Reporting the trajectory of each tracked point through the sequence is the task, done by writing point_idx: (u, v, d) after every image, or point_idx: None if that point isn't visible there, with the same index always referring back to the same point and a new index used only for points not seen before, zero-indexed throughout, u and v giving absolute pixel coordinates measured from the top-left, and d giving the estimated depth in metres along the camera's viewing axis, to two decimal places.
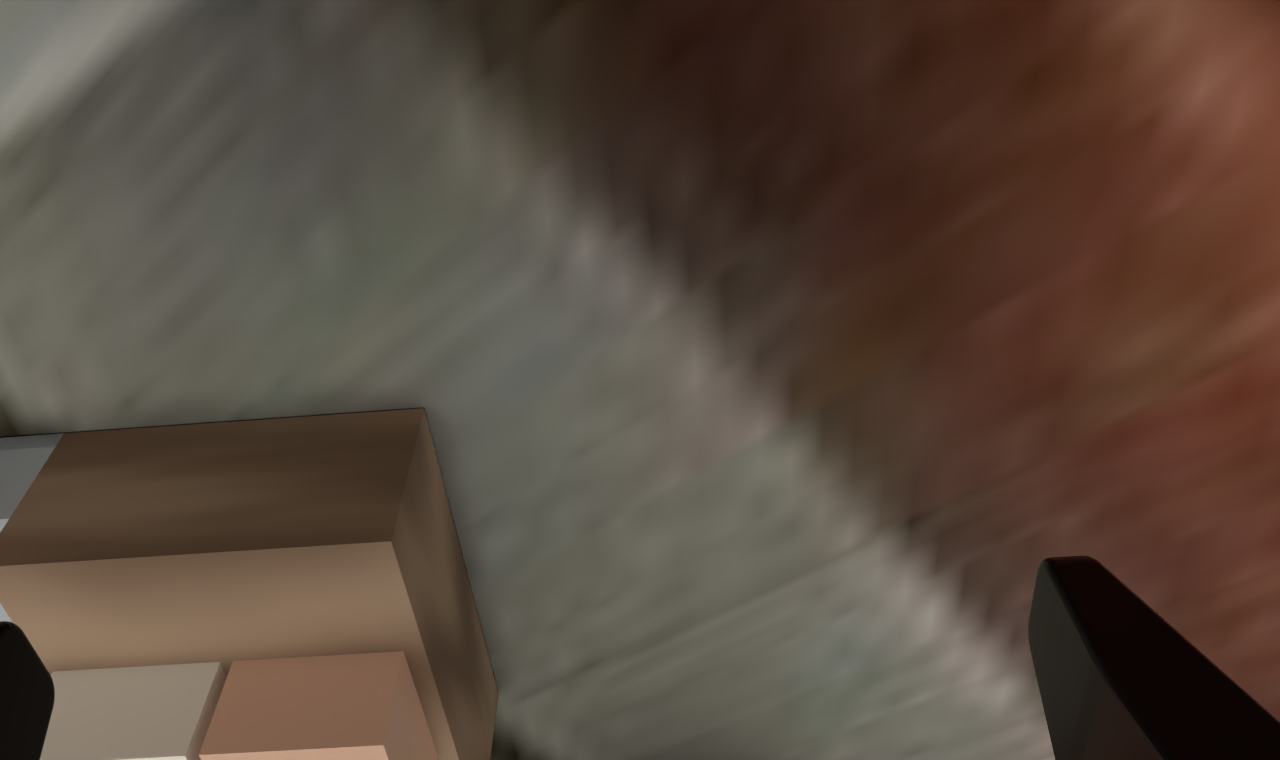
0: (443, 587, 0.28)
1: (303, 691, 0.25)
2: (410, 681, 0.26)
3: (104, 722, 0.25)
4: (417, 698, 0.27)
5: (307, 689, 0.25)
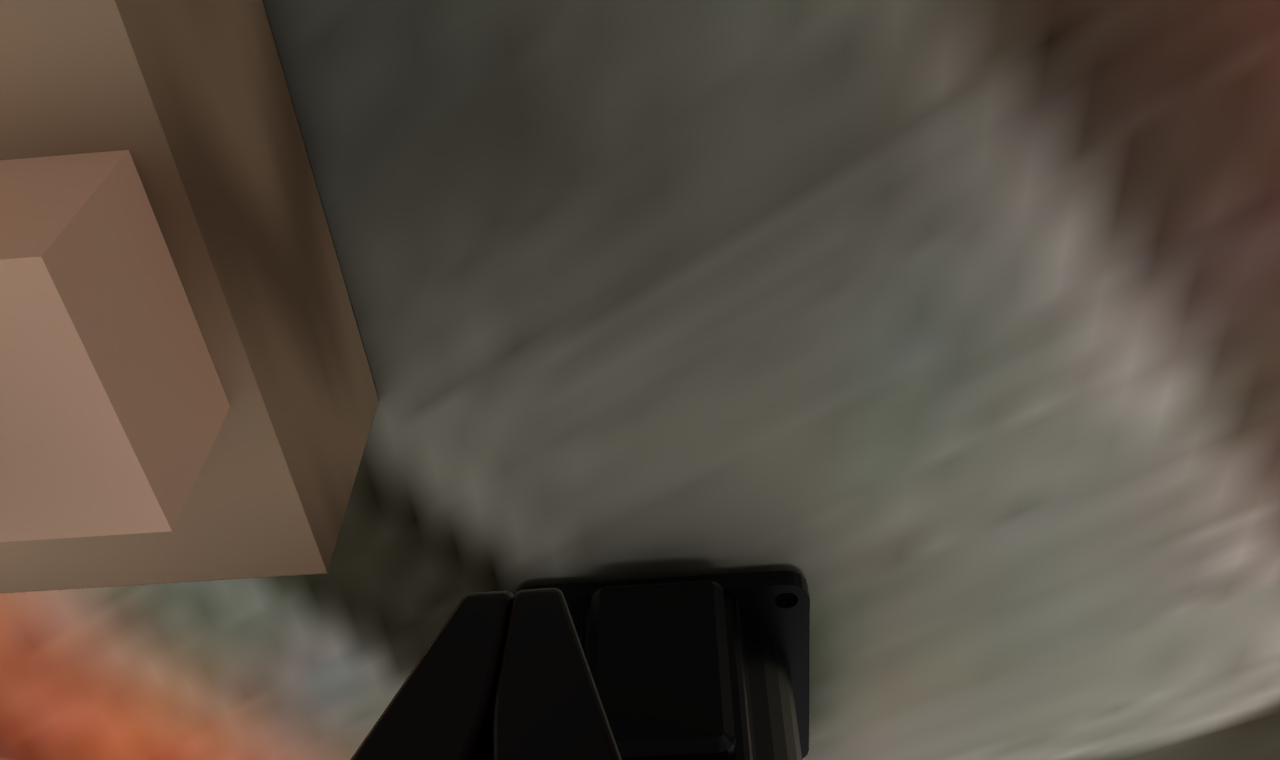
0: (237, 105, 0.16)
1: None
2: (150, 221, 0.14)
3: None
4: (172, 268, 0.15)
5: None
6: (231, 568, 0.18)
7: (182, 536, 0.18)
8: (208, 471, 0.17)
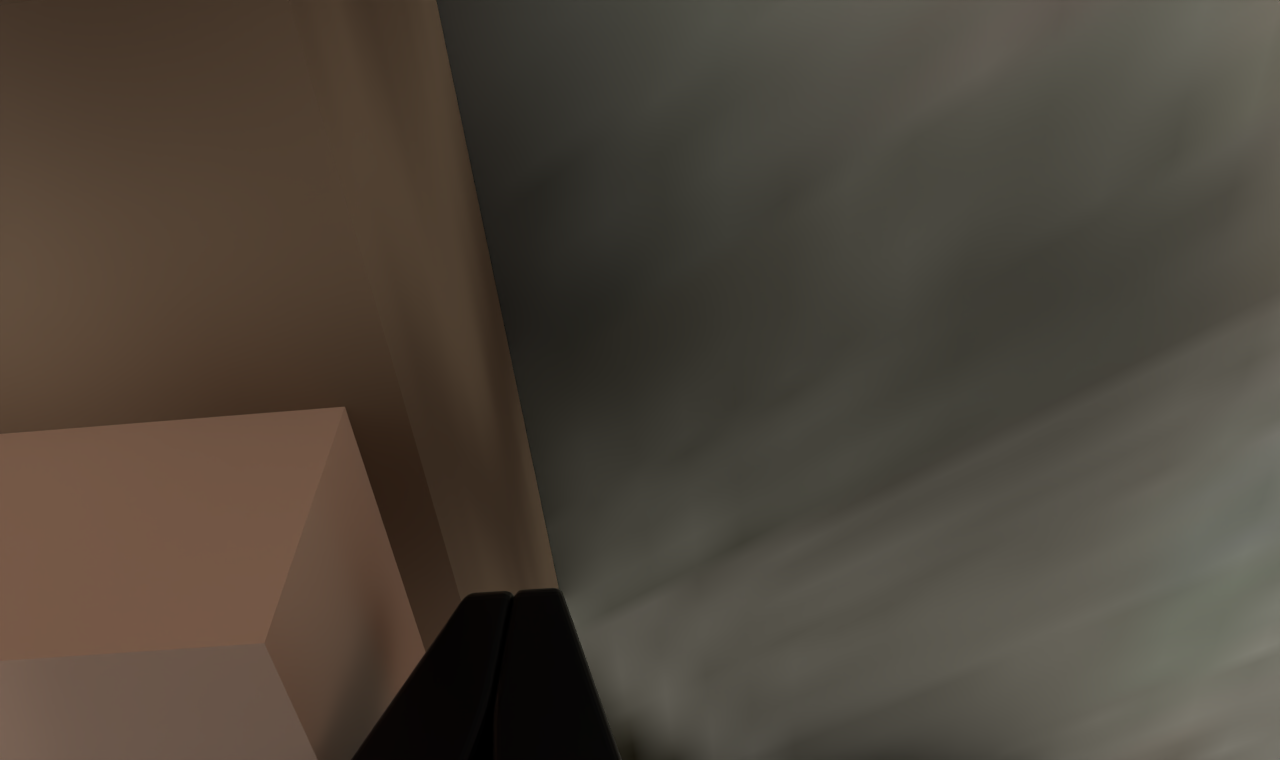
0: (453, 298, 0.11)
1: (53, 506, 0.09)
2: (367, 498, 0.10)
3: None
4: (388, 551, 0.10)
5: (65, 501, 0.09)
6: None
7: None
8: None
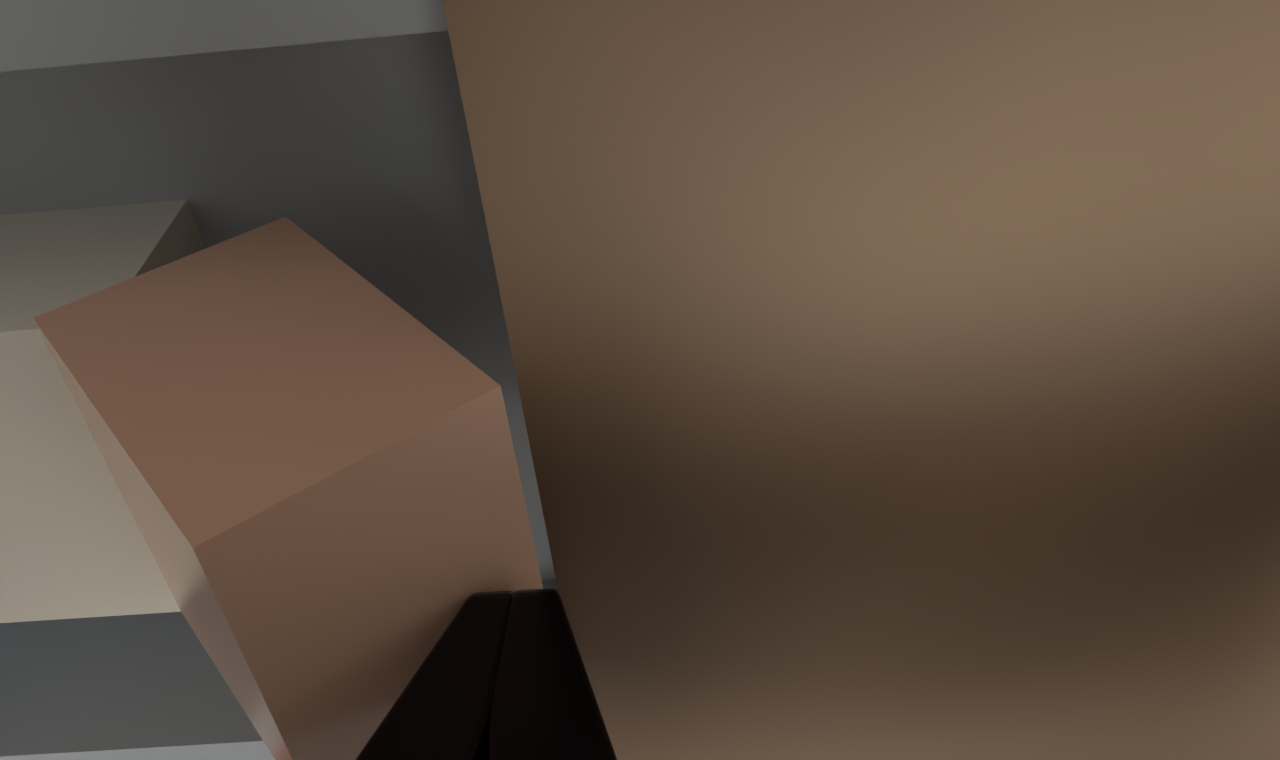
0: None
1: (273, 331, 0.10)
2: (503, 480, 0.09)
3: None
4: (525, 539, 0.10)
5: (282, 332, 0.10)
6: None
7: None
8: None
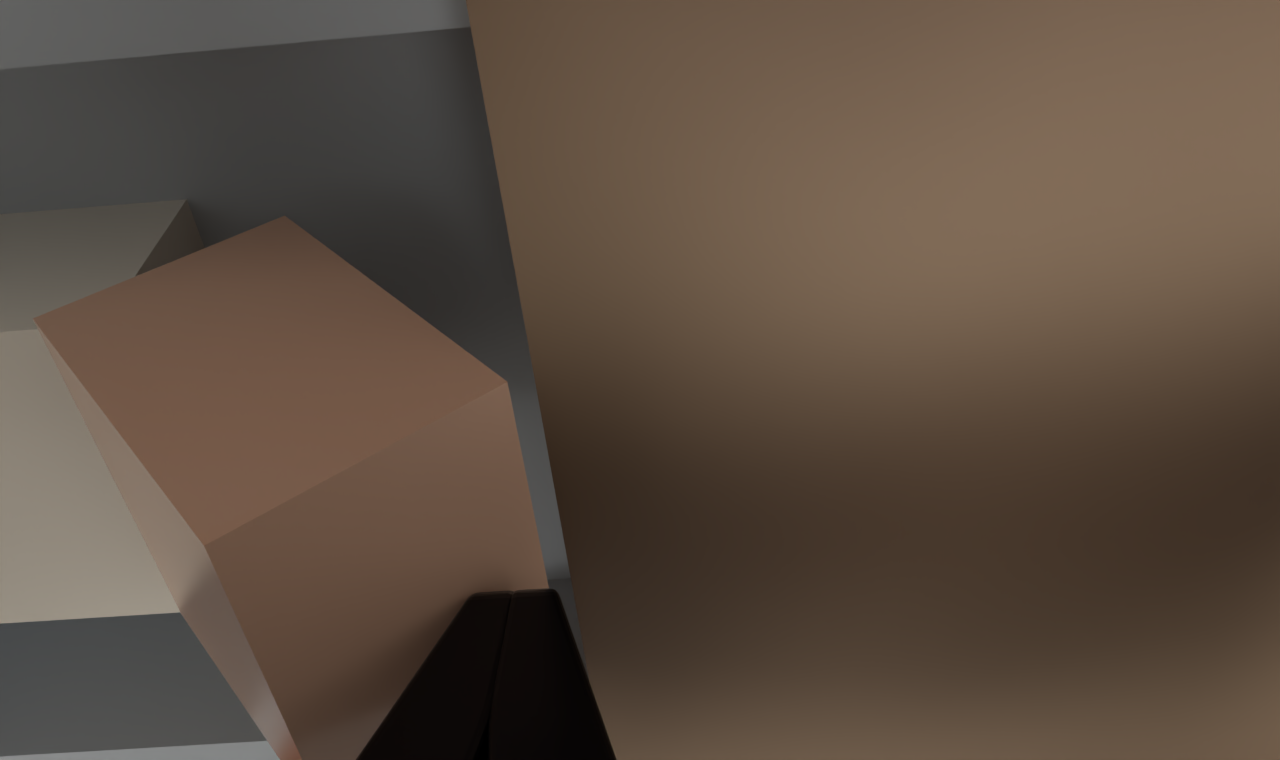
0: None
1: (276, 330, 0.10)
2: (509, 476, 0.09)
3: None
4: (531, 535, 0.10)
5: (285, 331, 0.10)
6: None
7: None
8: None
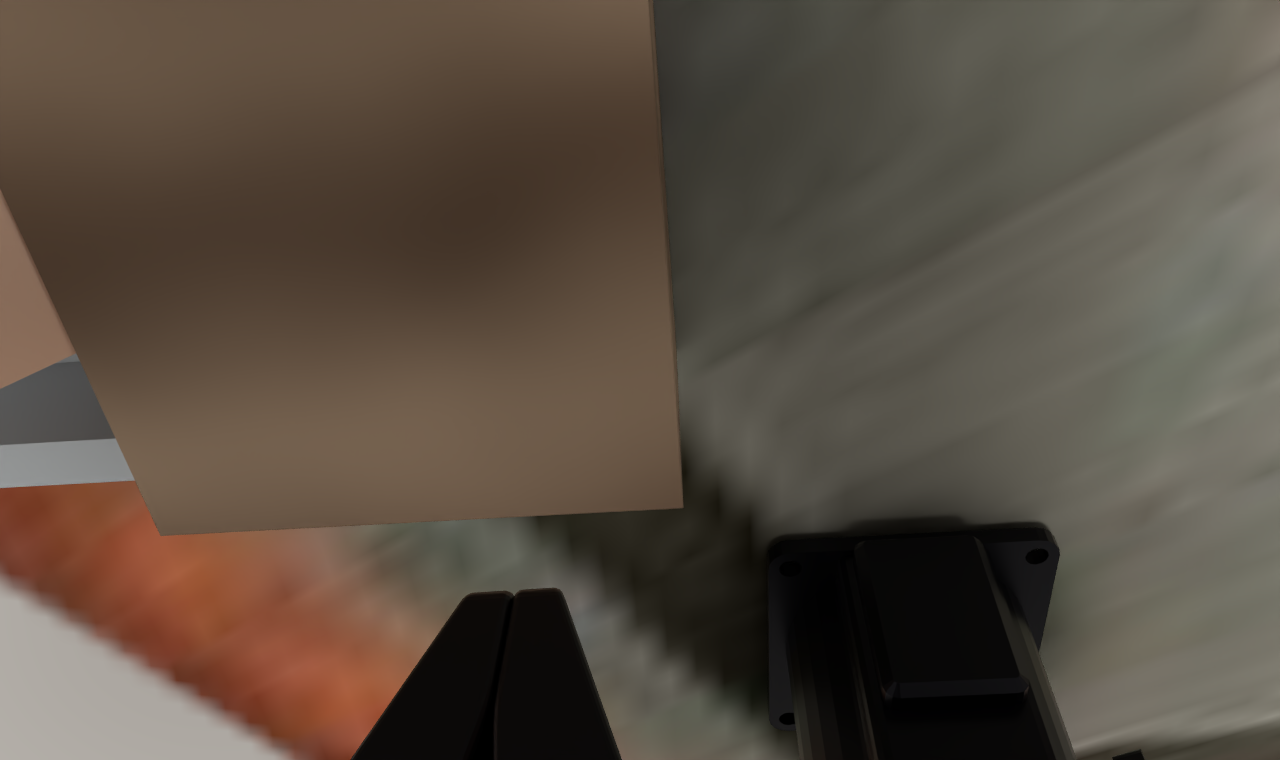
0: (654, 51, 0.17)
1: None
2: None
3: None
4: (11, 216, 0.16)
5: None
6: (593, 502, 0.19)
7: (555, 468, 0.18)
8: (598, 404, 0.18)
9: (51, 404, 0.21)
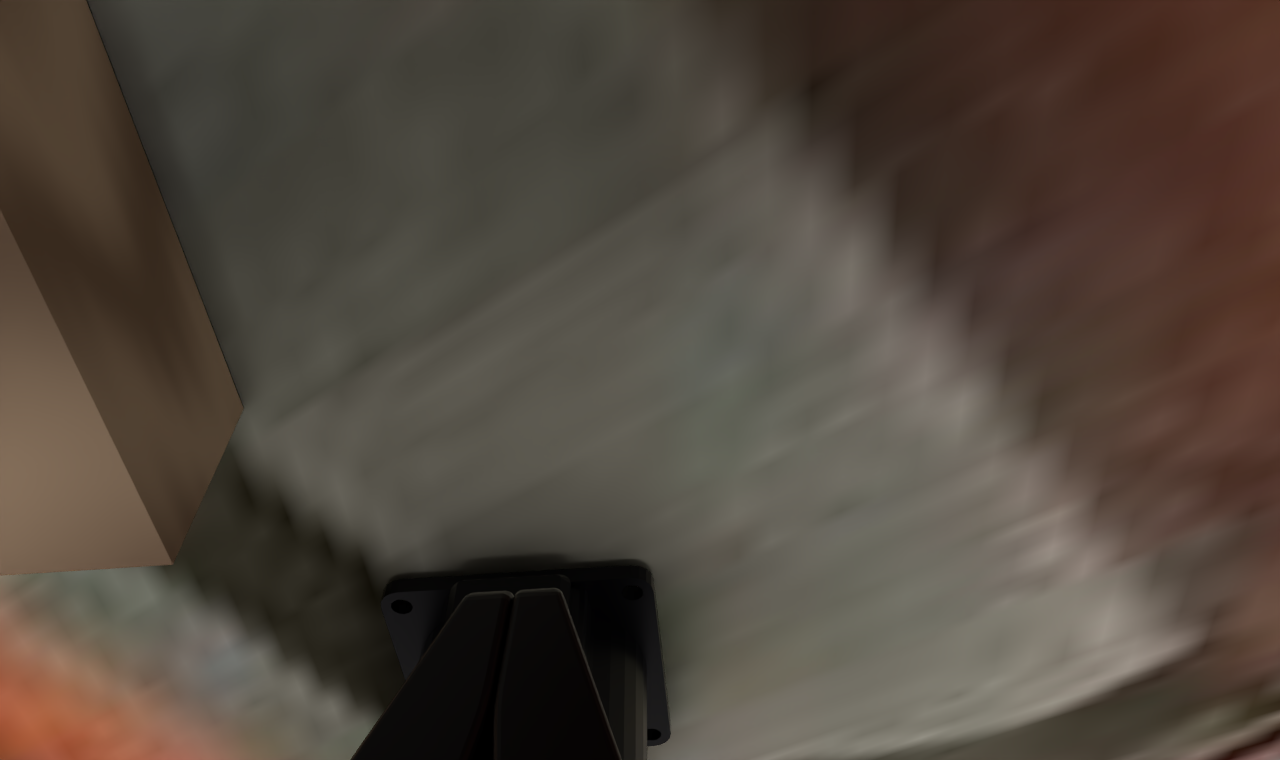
0: (73, 149, 0.18)
1: None
2: None
3: None
4: None
5: None
6: (86, 560, 0.20)
7: (39, 531, 0.20)
8: (56, 473, 0.19)
9: None
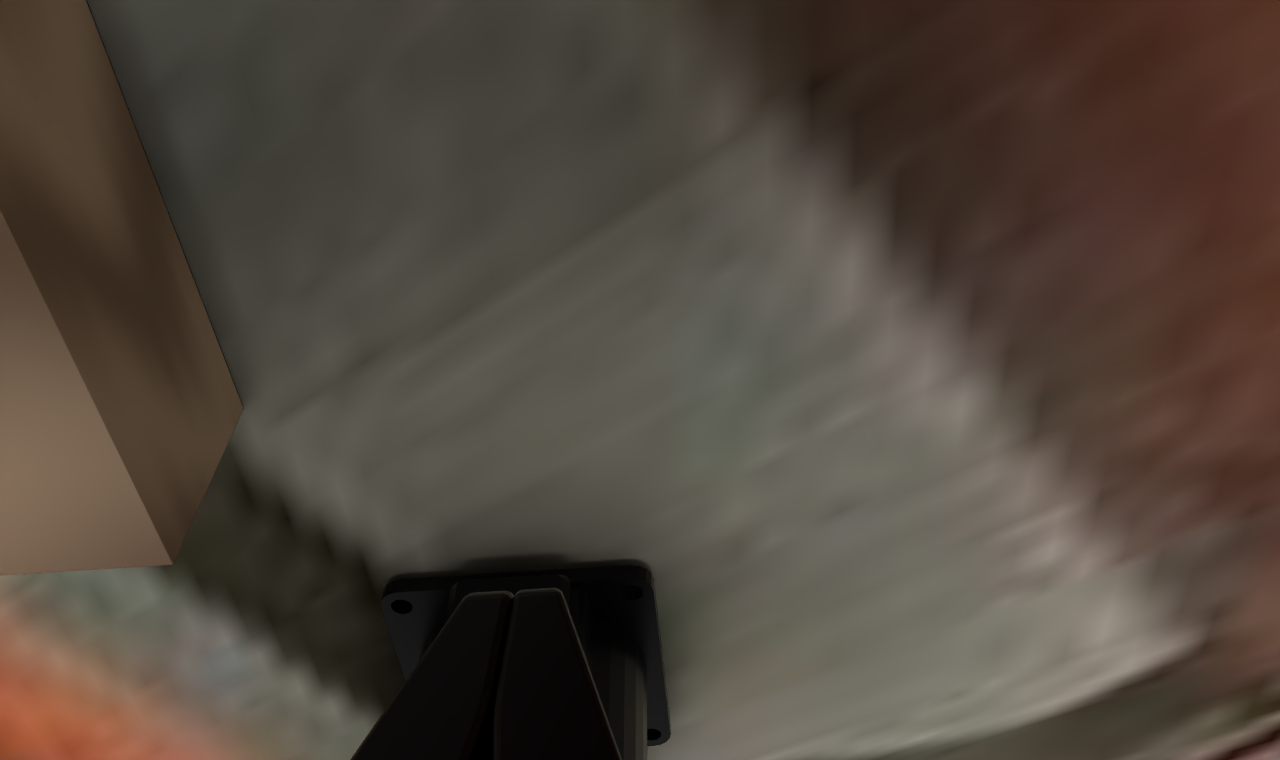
0: (73, 149, 0.18)
1: None
2: None
3: None
4: None
5: None
6: (86, 560, 0.20)
7: (39, 531, 0.20)
8: (56, 473, 0.19)
9: None
